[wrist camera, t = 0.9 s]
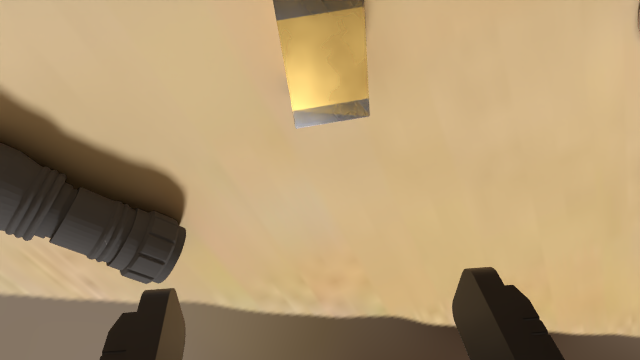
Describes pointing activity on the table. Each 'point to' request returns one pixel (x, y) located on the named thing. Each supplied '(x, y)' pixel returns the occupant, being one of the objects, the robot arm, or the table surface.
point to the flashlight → (85, 220)
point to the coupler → (324, 59)
